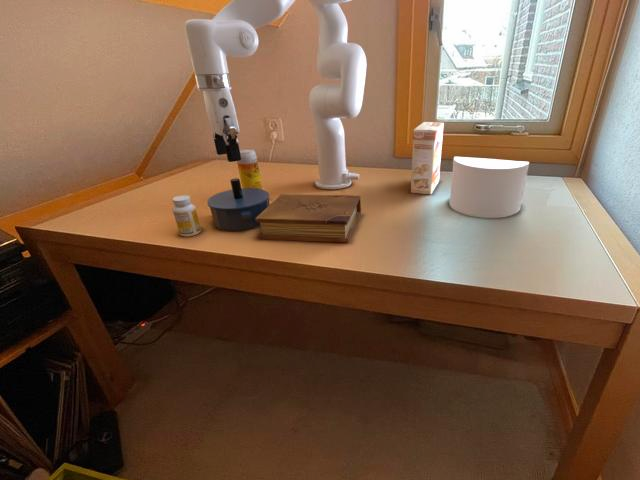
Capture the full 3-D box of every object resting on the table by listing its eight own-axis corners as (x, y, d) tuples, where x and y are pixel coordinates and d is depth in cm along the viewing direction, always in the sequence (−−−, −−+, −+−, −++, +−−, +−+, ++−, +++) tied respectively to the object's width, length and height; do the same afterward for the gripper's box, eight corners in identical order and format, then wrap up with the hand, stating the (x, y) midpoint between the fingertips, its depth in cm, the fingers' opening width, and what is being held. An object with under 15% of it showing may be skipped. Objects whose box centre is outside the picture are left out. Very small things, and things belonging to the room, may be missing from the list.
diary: (361, 214, 105) (360, 194, 102) (348, 243, 89) (347, 221, 86) (284, 211, 109) (281, 192, 106) (259, 238, 93) (255, 217, 90)
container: (522, 197, 112) (531, 153, 106) (516, 222, 97) (526, 172, 90) (457, 190, 120) (461, 148, 113) (441, 212, 105) (445, 165, 98)
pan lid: (262, 188, 111) (259, 168, 108) (275, 205, 98) (272, 182, 95) (205, 197, 105) (199, 176, 102) (211, 217, 92) (205, 193, 89)
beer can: (258, 201, 117) (249, 153, 109) (241, 200, 118) (231, 152, 110) (266, 195, 122) (258, 148, 114) (249, 194, 123) (240, 148, 115)
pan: (262, 203, 115) (259, 184, 112) (279, 227, 99) (276, 206, 96) (210, 212, 110) (205, 193, 107) (219, 239, 93) (213, 217, 90)
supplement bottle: (186, 238, 94) (175, 203, 89) (176, 233, 97) (165, 198, 92) (205, 231, 98) (196, 197, 93) (195, 226, 101) (185, 193, 96)
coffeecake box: (431, 194, 117) (436, 130, 107) (409, 192, 120) (412, 129, 109) (440, 181, 129) (444, 121, 119) (420, 179, 131) (423, 121, 121)
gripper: (241, 83, 82) (254, 161, 91) (219, 81, 94) (233, 149, 103) (206, 85, 78) (224, 166, 87) (189, 82, 91) (205, 153, 99)
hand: (228, 157), depth 95 cm, fingers open, 9 cm apart
